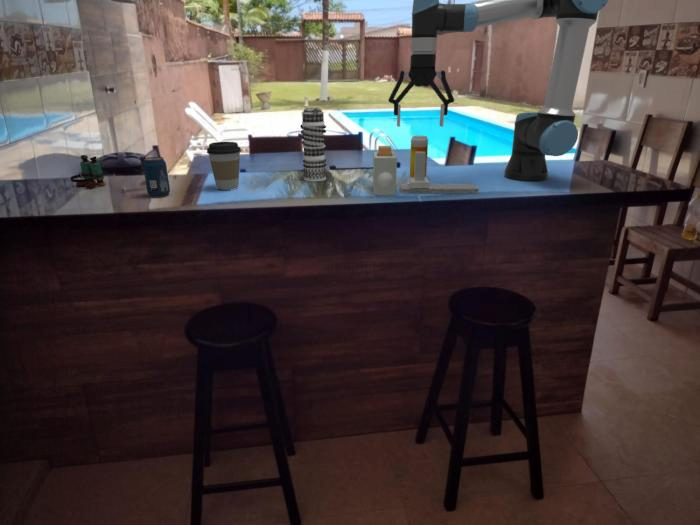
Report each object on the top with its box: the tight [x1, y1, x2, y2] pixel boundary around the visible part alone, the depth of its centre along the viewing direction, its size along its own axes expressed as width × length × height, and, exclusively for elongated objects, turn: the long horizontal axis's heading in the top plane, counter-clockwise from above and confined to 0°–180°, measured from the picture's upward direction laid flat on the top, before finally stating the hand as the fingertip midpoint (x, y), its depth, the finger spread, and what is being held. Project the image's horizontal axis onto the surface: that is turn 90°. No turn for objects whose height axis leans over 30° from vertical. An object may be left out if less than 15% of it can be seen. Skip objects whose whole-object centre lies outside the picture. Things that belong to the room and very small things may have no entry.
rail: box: [399, 183, 479, 194], centre depth 165 cm, size 25×7×2 cm, turn 89°
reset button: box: [377, 145, 392, 156], centre depth 161 cm, size 4×4×5 cm
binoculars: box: [70, 154, 106, 190], centre depth 172 cm, size 9×11×10 cm
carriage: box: [408, 152, 431, 188], centre depth 163 cm, size 6×7×11 cm
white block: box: [372, 151, 398, 196], centre depth 163 cm, size 7×12×12 cm, turn 179°
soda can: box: [142, 156, 171, 198], centre depth 160 cm, size 7×7×12 cm
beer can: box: [409, 135, 429, 178], centre depth 181 cm, size 6×6×15 cm
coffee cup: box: [206, 141, 242, 191], centre depth 168 cm, size 11×11×15 cm
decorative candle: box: [299, 107, 327, 182], centre depth 179 cm, size 9×9×25 cm
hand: (419, 126), depth 158 cm, fingers open, 13 cm apart
